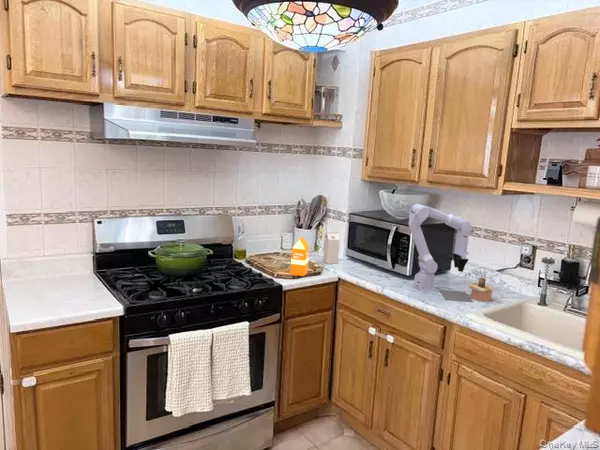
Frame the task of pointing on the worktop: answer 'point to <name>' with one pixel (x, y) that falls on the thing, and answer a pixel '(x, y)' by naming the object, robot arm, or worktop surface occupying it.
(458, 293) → the mat
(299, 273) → the orange juice
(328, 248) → the milk carton
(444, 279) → the worktop surface
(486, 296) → the bowl
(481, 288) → the lid
